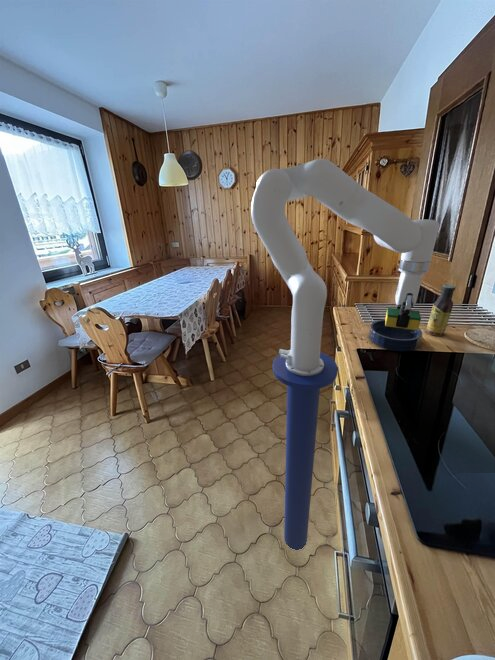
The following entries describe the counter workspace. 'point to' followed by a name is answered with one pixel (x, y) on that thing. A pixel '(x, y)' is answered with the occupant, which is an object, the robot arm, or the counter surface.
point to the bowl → (394, 337)
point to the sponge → (393, 314)
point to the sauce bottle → (441, 311)
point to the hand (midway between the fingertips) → (400, 322)
